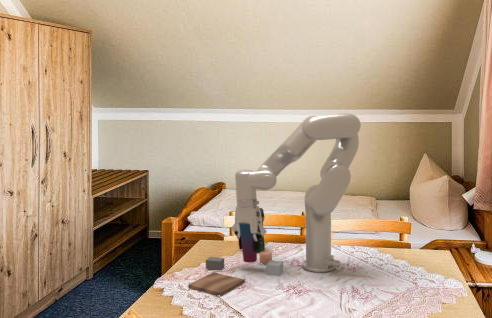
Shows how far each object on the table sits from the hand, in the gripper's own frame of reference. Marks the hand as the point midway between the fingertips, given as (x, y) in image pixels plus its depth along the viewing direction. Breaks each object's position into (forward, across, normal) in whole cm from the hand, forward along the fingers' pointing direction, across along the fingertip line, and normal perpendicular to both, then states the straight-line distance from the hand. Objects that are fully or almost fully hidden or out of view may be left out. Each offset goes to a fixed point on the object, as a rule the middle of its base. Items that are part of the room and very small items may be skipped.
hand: (249, 249), depth 179 cm
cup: (+5, 0, 0) cm, 5 cm away
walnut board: (+7, +1, +20) cm, 21 cm away
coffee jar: (+8, +12, -20) cm, 25 cm away
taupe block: (+8, +12, +7) cm, 16 cm away
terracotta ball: (+8, -1, -9) cm, 12 cm away
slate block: (+8, -10, -1) cm, 13 cm away
